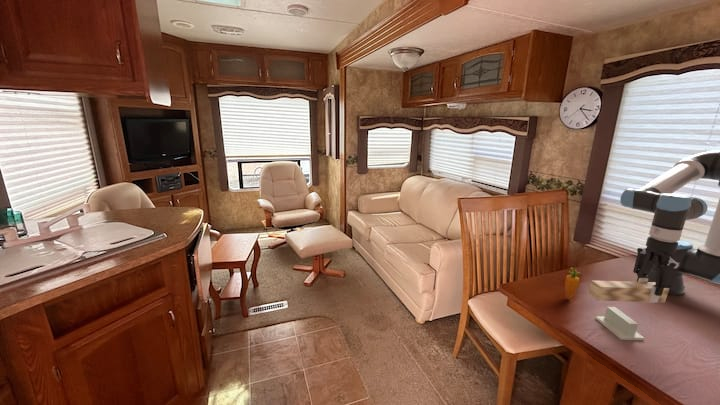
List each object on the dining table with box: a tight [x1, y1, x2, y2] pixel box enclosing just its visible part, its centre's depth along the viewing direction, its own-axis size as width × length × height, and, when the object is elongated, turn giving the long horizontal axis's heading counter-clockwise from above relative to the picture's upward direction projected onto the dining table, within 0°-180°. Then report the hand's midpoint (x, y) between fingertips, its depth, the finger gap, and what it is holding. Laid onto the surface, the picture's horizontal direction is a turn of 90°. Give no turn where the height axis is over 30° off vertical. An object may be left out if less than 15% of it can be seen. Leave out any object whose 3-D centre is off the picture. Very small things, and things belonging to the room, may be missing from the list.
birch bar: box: [588, 280, 669, 303], centre depth 106 cm, size 24×4×6 cm, turn 89°
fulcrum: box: [595, 306, 645, 341], centre depth 109 cm, size 8×12×6 cm, turn 179°
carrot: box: [564, 267, 581, 300], centre depth 127 cm, size 5×5×15 cm
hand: (645, 297), depth 106 cm, fingers closed on birch bar, 4 cm apart
